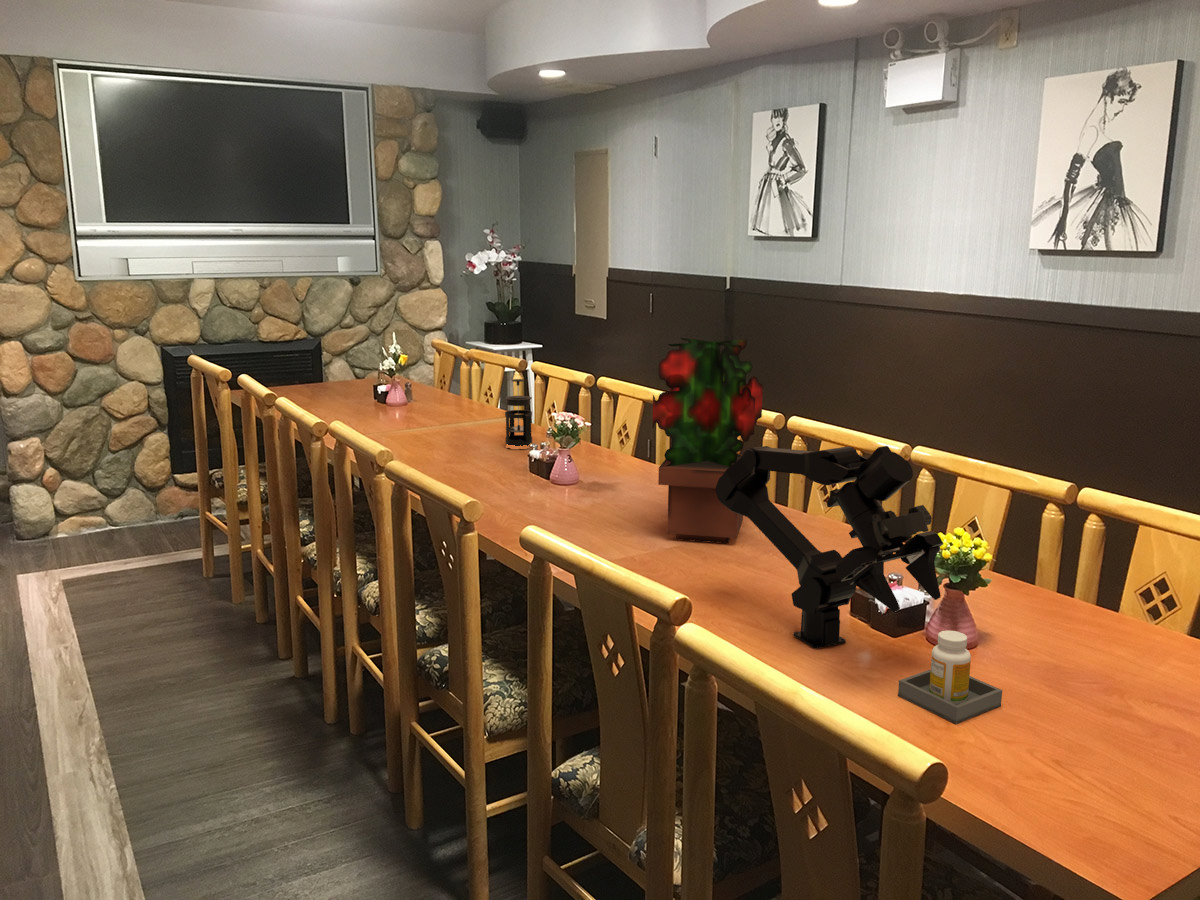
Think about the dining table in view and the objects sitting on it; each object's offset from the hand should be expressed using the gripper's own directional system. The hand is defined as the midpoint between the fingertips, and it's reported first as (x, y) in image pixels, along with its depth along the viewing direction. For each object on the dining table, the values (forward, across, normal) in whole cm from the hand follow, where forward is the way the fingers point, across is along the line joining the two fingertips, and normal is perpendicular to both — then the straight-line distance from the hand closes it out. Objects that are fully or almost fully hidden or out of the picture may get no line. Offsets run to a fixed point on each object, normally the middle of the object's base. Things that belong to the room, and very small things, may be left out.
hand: (918, 604), depth 142 cm
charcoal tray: (+14, 0, +4) cm, 15 cm away
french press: (-123, +31, +144) cm, 192 cm away
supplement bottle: (+14, 0, +4) cm, 14 cm away
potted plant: (-45, +22, +65) cm, 82 cm away
